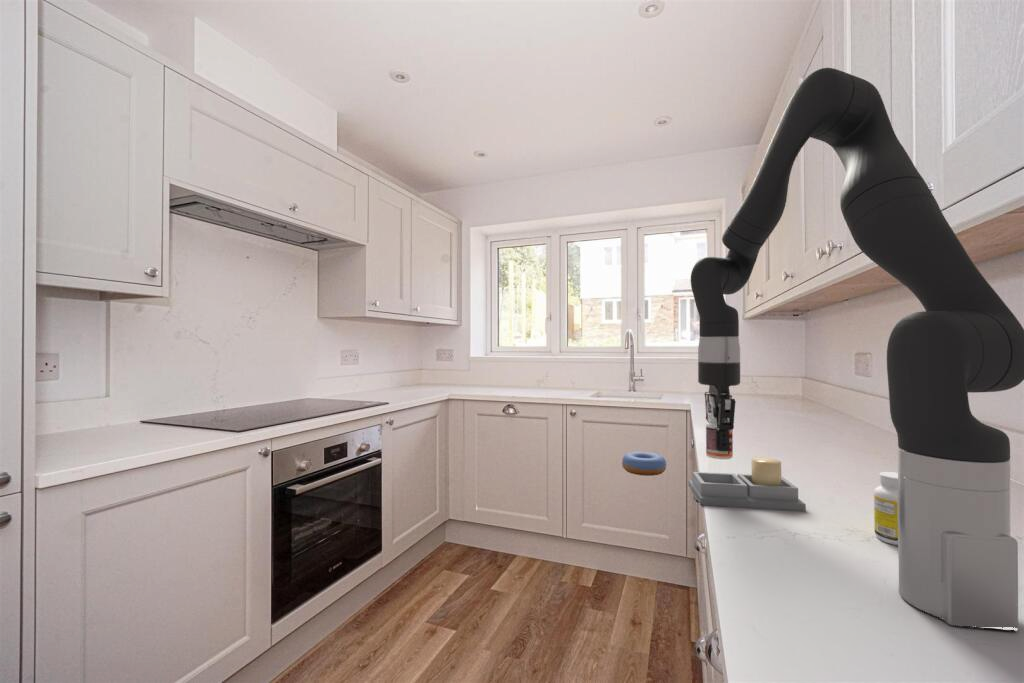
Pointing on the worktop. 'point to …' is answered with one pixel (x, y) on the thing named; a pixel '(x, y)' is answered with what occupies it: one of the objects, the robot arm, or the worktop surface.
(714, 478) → the grey compartment tray
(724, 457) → the pill bottle
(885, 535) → the supplement bottle
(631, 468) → the doughnut
